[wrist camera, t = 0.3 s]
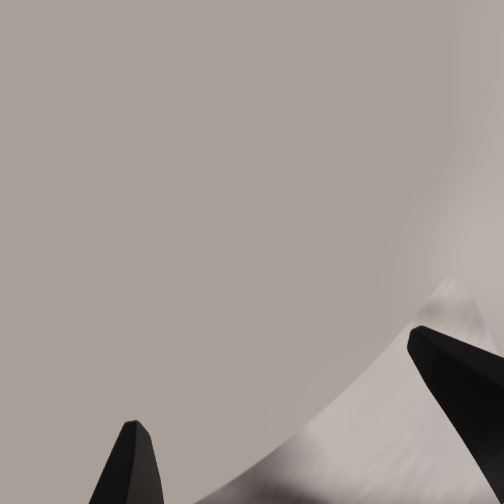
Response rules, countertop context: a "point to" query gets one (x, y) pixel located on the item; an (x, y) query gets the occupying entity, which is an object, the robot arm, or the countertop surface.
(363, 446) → the countertop surface
